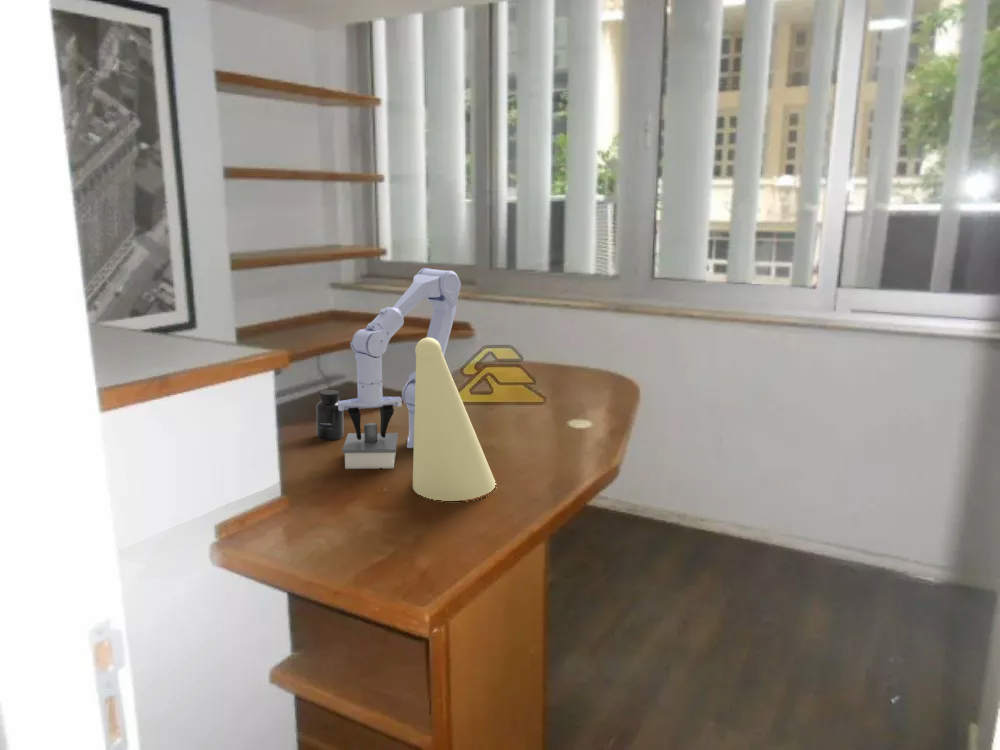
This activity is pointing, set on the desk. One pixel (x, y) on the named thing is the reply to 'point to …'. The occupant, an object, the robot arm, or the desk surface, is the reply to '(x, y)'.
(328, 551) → the desk surface
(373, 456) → the white open box
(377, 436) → the gray lid
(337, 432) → the supplement bottle
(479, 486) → the cone light
